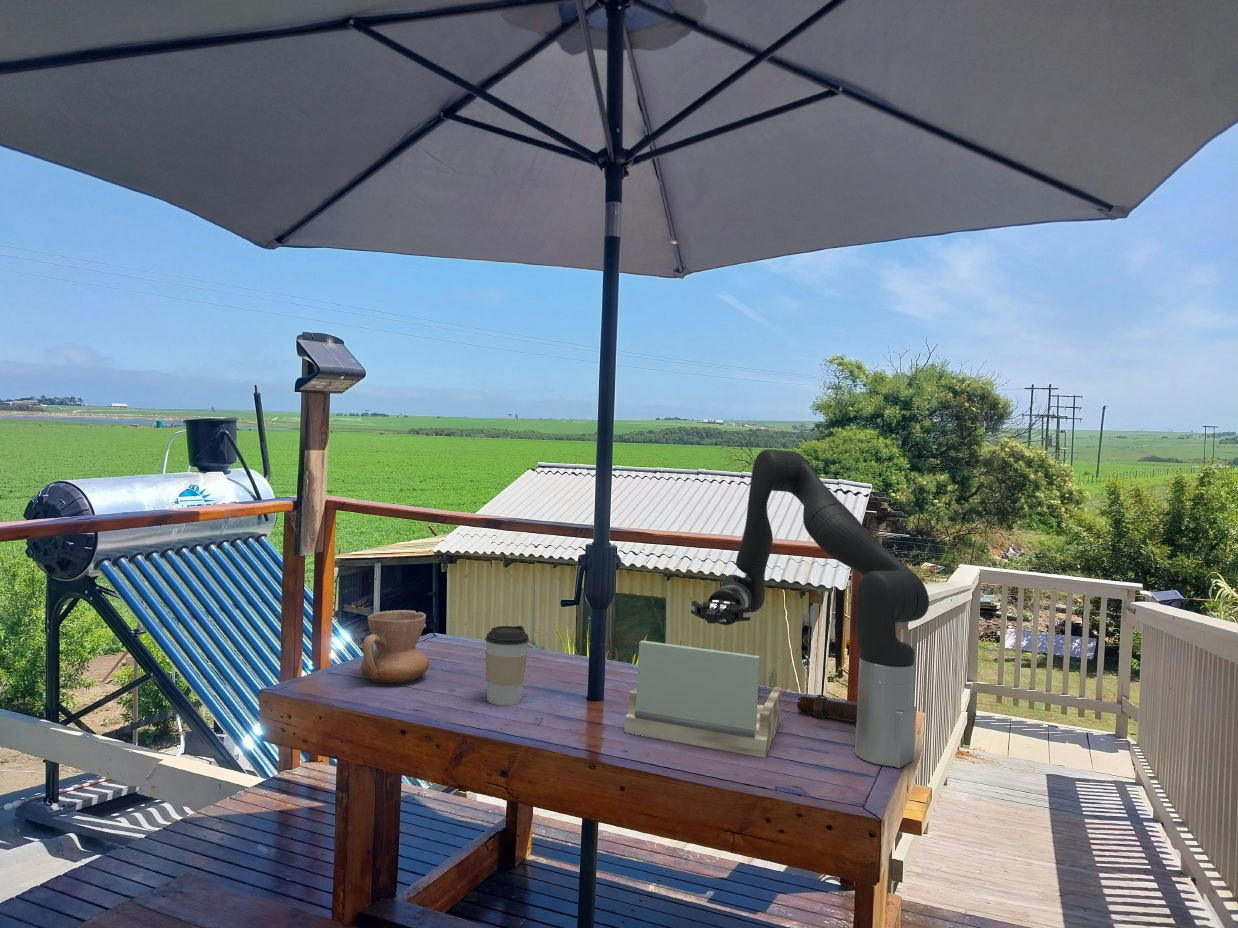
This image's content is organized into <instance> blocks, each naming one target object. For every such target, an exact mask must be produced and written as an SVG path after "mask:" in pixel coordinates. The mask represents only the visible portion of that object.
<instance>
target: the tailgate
mask: <svg viewBox="0 0 1238 928" xmlns="http://www.w3.org/2000/svg"><path fill="white" fill-rule="evenodd" d="M638 643H639V646H638V657H637V658H638V663H637V677H636V678H637V679H636V687H637V695H636V711H635V715H634V716H635V718H640V719H646V720H652V721H657V722H663V723H669V724H675V725H681V726H687V727H693V728H699V729H704V730H710V731H716V732H722V733H728V734H734V735H740V736H745V737H751V738H755V736H756V721H757V705H758V700H759V699H758V698H759V678H760V661H761V660H760V659H761V656H760V655H753V654H747V653H738V652H733V651H732V652H731V651H723V650H716V649H708V648H702V647H701V648H700V647H694V646H687V645H679V644H670V643H663V642H656V641H648V640H640V641H639V642H638Z"/></svg>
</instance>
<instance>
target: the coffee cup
mask: <svg viewBox="0 0 1238 928" xmlns="http://www.w3.org/2000/svg"><path fill="white" fill-rule="evenodd" d="M484 640H485V644H486V645H485V646H486V650H485V674H486V675H485V676H486V679H485V681H486V692H487V693H486V694H487V695H486V698H487V703H489V704H492V705H494V706H495V705H496V706H515V705H517V704H519V703H520V702H521V700H522V699H521V698H522V691H523V683H524V680H525V673H526V666H527V658H528V645H529V642H530V639H529V635H528V634H527V633H526V631H525V628H524V627H523V626H522V625H516V626H512V625H511V626H510V625H502V626H501V625H500V626H494V627H492V628H491V630H490V631H489V632H487V634H486V637H485V638H484Z"/></svg>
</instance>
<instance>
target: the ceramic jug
mask: <svg viewBox="0 0 1238 928" xmlns="http://www.w3.org/2000/svg"><path fill="white" fill-rule="evenodd" d="M426 619H427V616H426V613H424V612H421V611H418V612H416V610H409V609H408V610H407V609H403V610H402V609H398V610H395V609H394V610H386V611H384V610H383V611H380V612H375V613H374V614H370V615H369V616H367V624H368V630H369V632H370V635H368V636H366V637H364V640H363V642H362V655H363V658H364V659H363V660H362V661H361V664H360V670H361V673H362V674H363V676H364V677H366V678H367V679H369V680H371V681H374V682H378V683H382V684H403V683H404V684H405V683H408V682H411V681H412V682H413V681H415V680H417V679H420V678H421V677H422V676H423V675H425V674H426V673H427V671H428V669H429V667H430V659H429V657H428V656H427V655H426V654H425V653H424V652H422V651H421V650H419V649H418V648H417V647H416V646H417V645H418V643H419V640H420V638H421V635H422V633H423V631H424V629H426V627H427V625H426ZM374 645H375V647H376V649H375V650H374V651H373V646H374Z"/></svg>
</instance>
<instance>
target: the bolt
mask: <svg viewBox="0 0 1238 928" xmlns="http://www.w3.org/2000/svg"><path fill="white" fill-rule="evenodd" d="M816 696H818V697H815V696H814V697H810V696H801V697H798V698H797V700H798V702H797V703H796V707H797V709H798V711H799V712H802V713H808V714H813V717H814V718H815V719H819V718H820V720H821V719H822V718H823V719H825V718H826V717H830V718H837V719H841V720H848V721H854V722H856V717H857V704H853V703H849V702H848V703H847V702H840V701H834V700H828V699H827V697H826V696H825V695H824V694H817V695H816ZM821 697H825V698H821ZM824 717H825V718H824ZM823 719H822V720H823Z"/></svg>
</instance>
